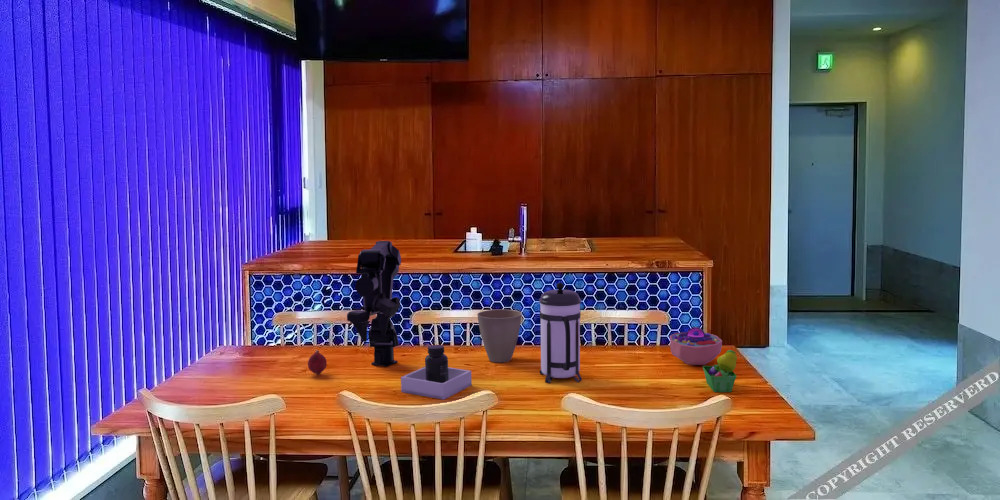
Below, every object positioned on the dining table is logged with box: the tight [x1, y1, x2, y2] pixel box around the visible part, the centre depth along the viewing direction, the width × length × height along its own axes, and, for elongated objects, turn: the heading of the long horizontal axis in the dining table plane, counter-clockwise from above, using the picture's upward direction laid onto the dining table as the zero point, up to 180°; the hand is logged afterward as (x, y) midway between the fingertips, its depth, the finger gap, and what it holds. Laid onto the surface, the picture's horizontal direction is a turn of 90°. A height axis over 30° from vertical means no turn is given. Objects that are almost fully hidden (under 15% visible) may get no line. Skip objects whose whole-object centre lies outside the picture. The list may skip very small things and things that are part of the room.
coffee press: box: [538, 282, 583, 384], centre depth 234 cm, size 17×16×30 cm
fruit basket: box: [702, 349, 738, 393], centre depth 225 cm, size 11×9×11 cm
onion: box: [307, 349, 328, 376], centre depth 244 cm, size 6×6×8 cm
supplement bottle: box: [424, 344, 449, 383], centre depth 228 cm, size 7×7×12 cm
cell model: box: [669, 326, 723, 366], centre depth 251 cm, size 17×20×11 cm
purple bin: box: [400, 366, 472, 400], centre depth 228 cm, size 15×15×4 cm
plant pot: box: [477, 309, 523, 363], centre depth 258 cm, size 15×15×16 cm
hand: (374, 338), depth 241 cm, fingers open, 9 cm apart
